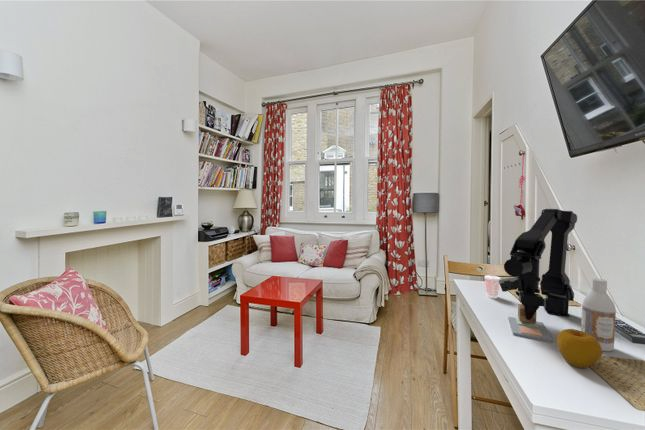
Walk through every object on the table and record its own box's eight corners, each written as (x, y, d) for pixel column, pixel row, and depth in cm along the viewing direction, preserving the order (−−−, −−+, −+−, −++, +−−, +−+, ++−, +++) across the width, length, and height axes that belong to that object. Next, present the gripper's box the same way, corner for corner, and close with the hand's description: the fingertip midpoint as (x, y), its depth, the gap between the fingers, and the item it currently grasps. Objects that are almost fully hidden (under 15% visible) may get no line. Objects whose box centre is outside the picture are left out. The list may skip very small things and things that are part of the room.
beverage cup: (483, 297, 123) (484, 266, 122) (484, 293, 128) (484, 264, 127) (499, 299, 119) (500, 268, 119) (499, 295, 125) (500, 265, 124)
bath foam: (589, 350, 79) (592, 282, 78) (575, 338, 85) (578, 275, 84) (620, 354, 77) (623, 284, 76) (603, 342, 83) (606, 277, 82)
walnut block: (533, 318, 95) (533, 306, 95) (536, 323, 91) (536, 310, 91) (517, 316, 97) (518, 303, 97) (519, 320, 93) (520, 308, 93)
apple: (609, 372, 68) (611, 337, 68) (583, 376, 67) (585, 341, 66) (572, 353, 77) (573, 323, 76) (548, 357, 75) (549, 325, 75)
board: (542, 324, 95) (542, 321, 95) (552, 342, 83) (552, 339, 83) (508, 318, 100) (508, 315, 100) (512, 334, 88) (513, 331, 88)
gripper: (498, 264, 106) (497, 303, 106) (503, 275, 89) (501, 322, 90) (534, 267, 100) (532, 309, 101) (546, 280, 84) (544, 330, 85)
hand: (526, 316), depth 94 cm, fingers closed on walnut block, 4 cm apart
